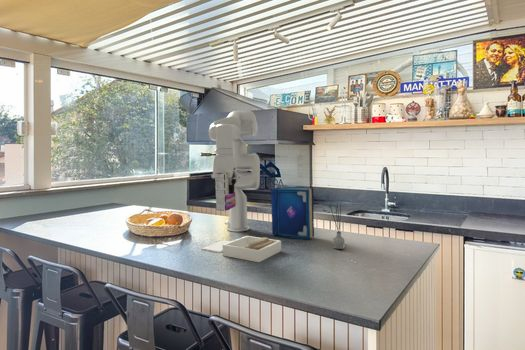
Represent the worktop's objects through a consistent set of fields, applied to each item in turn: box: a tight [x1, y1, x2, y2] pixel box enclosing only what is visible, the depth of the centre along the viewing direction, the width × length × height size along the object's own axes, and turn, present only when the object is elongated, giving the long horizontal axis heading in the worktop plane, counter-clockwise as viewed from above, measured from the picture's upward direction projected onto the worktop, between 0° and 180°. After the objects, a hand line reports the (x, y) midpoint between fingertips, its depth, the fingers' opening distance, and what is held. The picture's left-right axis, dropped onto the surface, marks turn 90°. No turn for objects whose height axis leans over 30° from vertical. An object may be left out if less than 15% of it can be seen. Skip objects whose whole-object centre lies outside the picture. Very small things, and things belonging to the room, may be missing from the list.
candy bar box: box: [214, 173, 236, 212], centre depth 159 cm, size 11×5×16 cm, turn 161°
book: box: [270, 186, 315, 240], centre depth 180 cm, size 22×7×25 cm, turn 62°
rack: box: [222, 235, 282, 263], centre depth 152 cm, size 18×18×4 cm
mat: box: [201, 240, 231, 254], centre depth 162 cm, size 10×16×1 cm, turn 148°
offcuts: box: [248, 236, 274, 250], centre depth 150 cm, size 5×12×6 cm, turn 148°
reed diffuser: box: [329, 203, 346, 250], centre depth 158 cm, size 10×7×20 cm
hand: (225, 192), depth 159 cm, fingers closed on candy bar box, 5 cm apart
